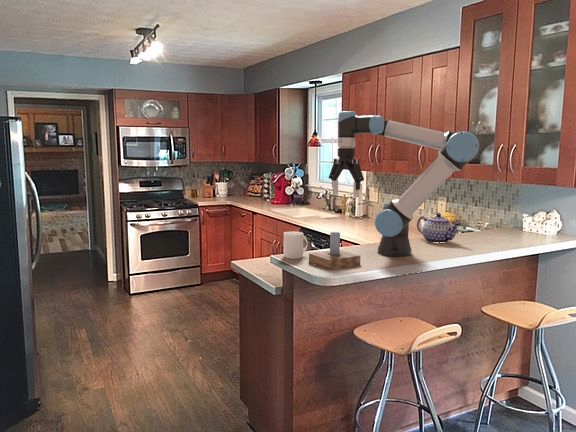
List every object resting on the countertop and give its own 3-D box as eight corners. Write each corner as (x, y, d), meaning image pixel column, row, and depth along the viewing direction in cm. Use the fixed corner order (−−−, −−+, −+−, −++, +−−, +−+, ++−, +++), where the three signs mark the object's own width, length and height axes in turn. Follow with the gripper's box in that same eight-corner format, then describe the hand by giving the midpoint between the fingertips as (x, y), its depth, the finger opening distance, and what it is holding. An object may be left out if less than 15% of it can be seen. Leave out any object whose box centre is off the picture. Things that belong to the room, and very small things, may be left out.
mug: (313, 257, 215) (313, 233, 214) (290, 260, 209) (290, 235, 207) (301, 253, 223) (302, 230, 221) (279, 256, 216) (279, 232, 214)
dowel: (335, 259, 206) (335, 231, 204) (341, 261, 203) (342, 233, 201) (327, 260, 204) (328, 232, 202) (333, 262, 200) (334, 234, 199)
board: (338, 258, 213) (338, 249, 213) (360, 264, 202) (360, 255, 201) (308, 262, 205) (308, 253, 204) (329, 269, 193) (329, 260, 193)
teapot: (408, 239, 259) (409, 211, 257) (426, 236, 268) (427, 209, 266) (448, 247, 239) (450, 217, 237) (467, 244, 248) (469, 214, 246)
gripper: (321, 147, 222) (320, 194, 225) (360, 147, 202) (358, 199, 205) (334, 147, 226) (333, 193, 229) (373, 147, 206) (371, 198, 209)
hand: (345, 196), depth 217 cm, fingers open, 13 cm apart
